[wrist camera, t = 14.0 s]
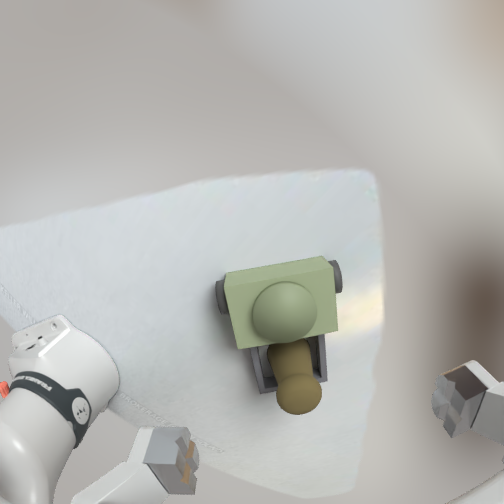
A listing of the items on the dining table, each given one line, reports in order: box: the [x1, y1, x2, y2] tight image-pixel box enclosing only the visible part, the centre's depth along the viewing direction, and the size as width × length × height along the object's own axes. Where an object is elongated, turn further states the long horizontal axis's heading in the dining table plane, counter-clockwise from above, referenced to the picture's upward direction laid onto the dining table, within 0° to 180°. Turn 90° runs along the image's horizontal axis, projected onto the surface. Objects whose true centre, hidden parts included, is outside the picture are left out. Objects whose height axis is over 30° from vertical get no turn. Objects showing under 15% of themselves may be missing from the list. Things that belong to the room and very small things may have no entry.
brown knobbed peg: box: [267, 338, 322, 415], centre depth 35 cm, size 6×6×11 cm
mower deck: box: [216, 256, 342, 394], centre depth 36 cm, size 14×18×6 cm
